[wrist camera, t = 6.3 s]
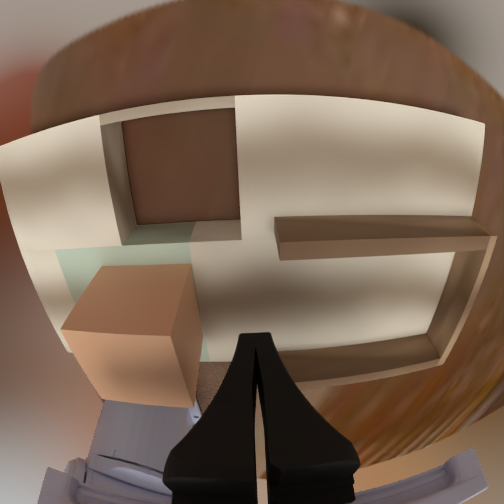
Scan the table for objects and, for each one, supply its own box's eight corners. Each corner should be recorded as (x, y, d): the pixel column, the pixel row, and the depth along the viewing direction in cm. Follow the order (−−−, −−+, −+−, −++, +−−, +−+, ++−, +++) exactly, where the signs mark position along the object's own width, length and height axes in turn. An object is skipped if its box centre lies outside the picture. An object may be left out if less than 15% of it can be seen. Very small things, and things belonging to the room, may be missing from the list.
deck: (416, 318, 20) (429, 339, 18) (79, 330, 20) (67, 352, 18) (458, 117, 13) (485, 124, 11) (19, 139, 13) (-6, 148, 11)
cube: (203, 336, 17) (194, 408, 12) (125, 334, 17) (101, 398, 12) (190, 263, 14) (170, 335, 10) (101, 266, 14) (60, 329, 10)
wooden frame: (429, 339, 18) (442, 364, 16) (272, 360, 18) (275, 391, 16) (471, 216, 13) (497, 235, 11) (274, 216, 13) (280, 242, 11)
